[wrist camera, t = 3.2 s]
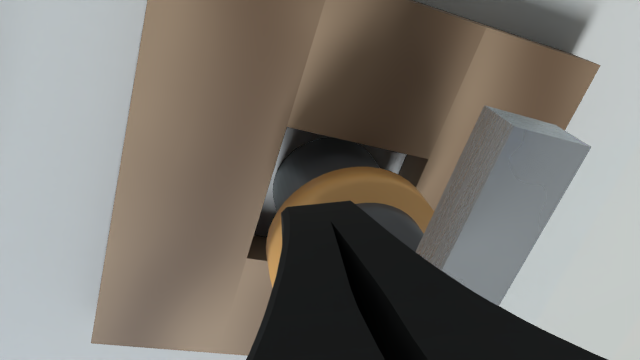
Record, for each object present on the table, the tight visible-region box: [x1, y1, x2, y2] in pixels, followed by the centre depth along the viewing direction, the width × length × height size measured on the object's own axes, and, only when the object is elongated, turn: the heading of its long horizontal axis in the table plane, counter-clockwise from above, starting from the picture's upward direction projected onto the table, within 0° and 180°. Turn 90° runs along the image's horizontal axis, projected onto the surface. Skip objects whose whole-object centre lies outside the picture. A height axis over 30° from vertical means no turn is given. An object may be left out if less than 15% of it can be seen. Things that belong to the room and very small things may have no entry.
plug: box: [266, 138, 434, 288], centre depth 15 cm, size 5×5×7 cm
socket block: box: [91, 0, 600, 356], centre depth 15 cm, size 14×14×8 cm
